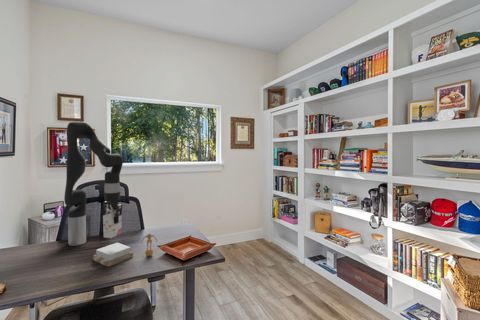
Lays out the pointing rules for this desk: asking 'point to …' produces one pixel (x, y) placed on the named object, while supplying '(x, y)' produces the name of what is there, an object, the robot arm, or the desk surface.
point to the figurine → (150, 251)
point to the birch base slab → (112, 262)
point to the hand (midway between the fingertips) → (112, 222)
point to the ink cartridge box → (111, 225)
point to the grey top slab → (113, 251)
